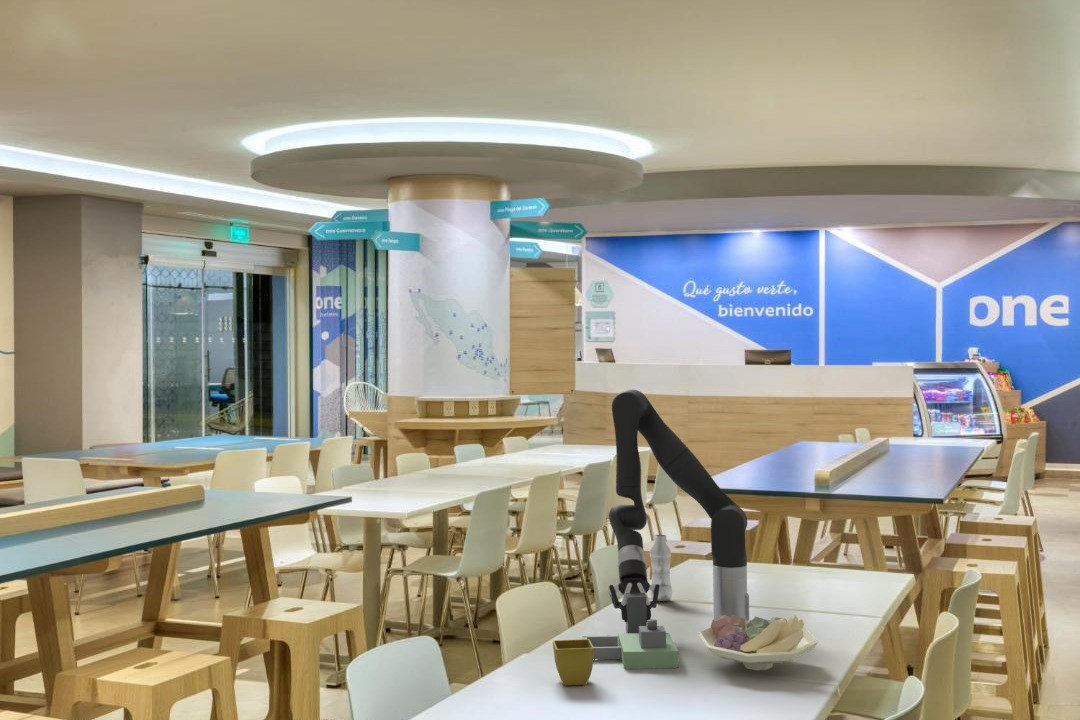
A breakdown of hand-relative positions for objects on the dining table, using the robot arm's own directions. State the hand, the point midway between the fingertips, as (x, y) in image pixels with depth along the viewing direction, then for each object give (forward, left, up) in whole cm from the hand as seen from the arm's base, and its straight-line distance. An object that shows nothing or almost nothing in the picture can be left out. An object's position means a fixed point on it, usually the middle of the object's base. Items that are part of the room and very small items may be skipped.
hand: (636, 620), depth 295 cm
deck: (+3, +15, -6) cm, 17 cm away
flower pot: (+18, +36, -6) cm, 41 cm away
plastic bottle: (-12, -49, -6) cm, 51 cm away
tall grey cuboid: (0, -2, -6) cm, 6 cm away
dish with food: (-27, +25, -6) cm, 37 cm away
